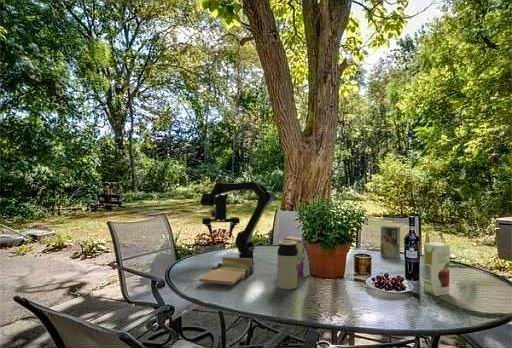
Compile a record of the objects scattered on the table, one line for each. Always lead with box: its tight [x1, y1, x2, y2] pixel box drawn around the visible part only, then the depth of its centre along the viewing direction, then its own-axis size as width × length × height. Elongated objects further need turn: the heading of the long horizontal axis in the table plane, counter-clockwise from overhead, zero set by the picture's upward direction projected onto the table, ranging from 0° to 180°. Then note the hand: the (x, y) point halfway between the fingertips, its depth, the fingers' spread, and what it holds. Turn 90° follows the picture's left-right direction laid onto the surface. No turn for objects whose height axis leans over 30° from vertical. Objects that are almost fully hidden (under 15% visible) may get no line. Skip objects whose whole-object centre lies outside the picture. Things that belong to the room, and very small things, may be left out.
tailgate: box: [198, 269, 243, 285], centre depth 156 cm, size 1×14×14 cm
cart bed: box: [211, 256, 255, 280], centre depth 169 cm, size 13×16×6 cm
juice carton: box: [422, 241, 451, 297], centre depth 146 cm, size 8×9×19 cm
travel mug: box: [276, 239, 298, 291], centre depth 152 cm, size 8×8×18 cm
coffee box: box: [380, 225, 401, 259], centre depth 207 cm, size 9×6×16 cm
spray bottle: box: [283, 235, 310, 278], centre depth 169 cm, size 11×5×16 cm, turn 47°
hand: (220, 237), depth 194 cm, fingers open, 9 cm apart
